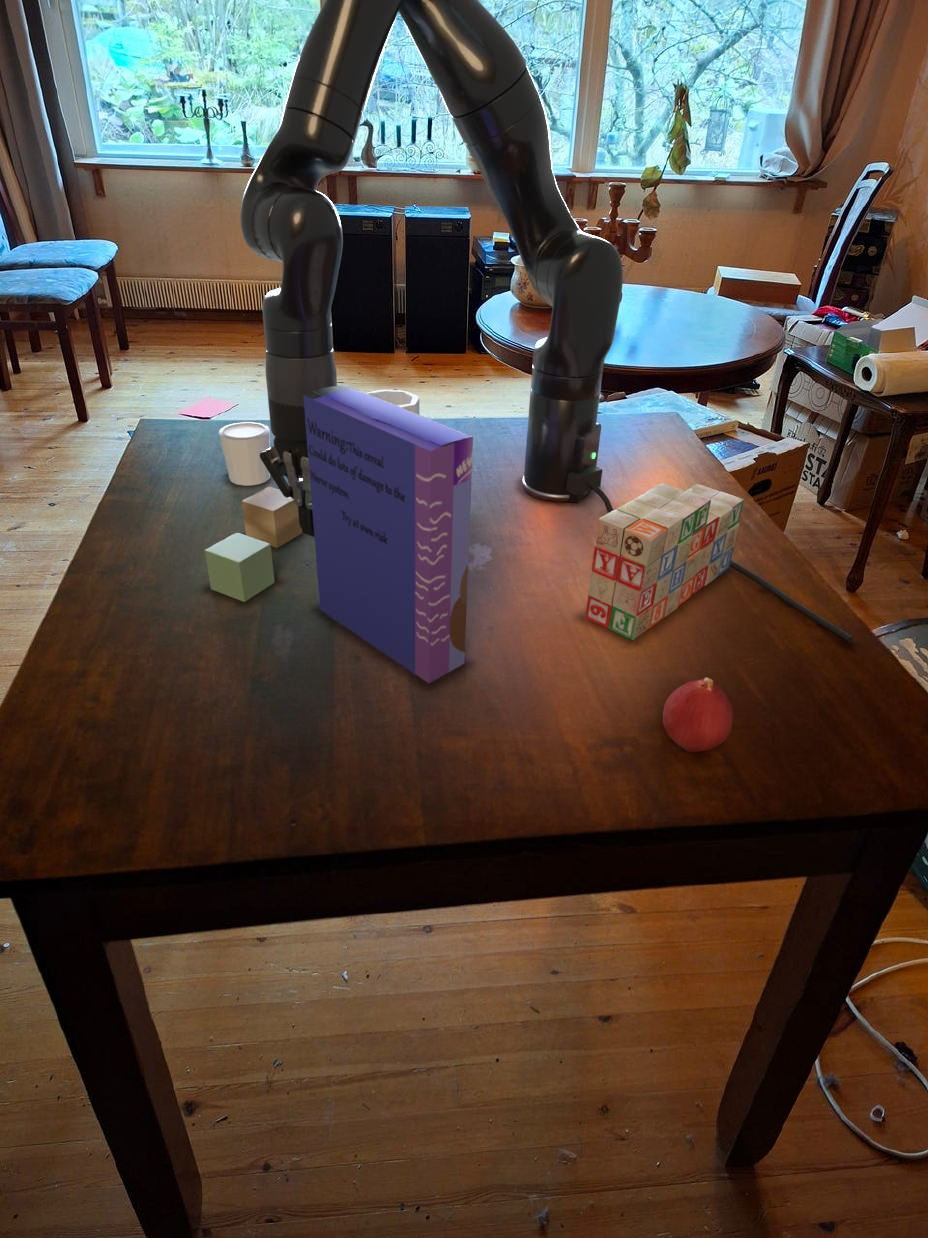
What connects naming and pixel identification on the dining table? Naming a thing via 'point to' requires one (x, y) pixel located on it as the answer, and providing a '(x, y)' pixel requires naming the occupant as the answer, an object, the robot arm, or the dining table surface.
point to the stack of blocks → (659, 554)
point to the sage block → (240, 566)
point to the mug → (398, 399)
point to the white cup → (245, 452)
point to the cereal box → (391, 526)
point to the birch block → (271, 517)
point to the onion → (698, 716)
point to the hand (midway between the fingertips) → (312, 532)
